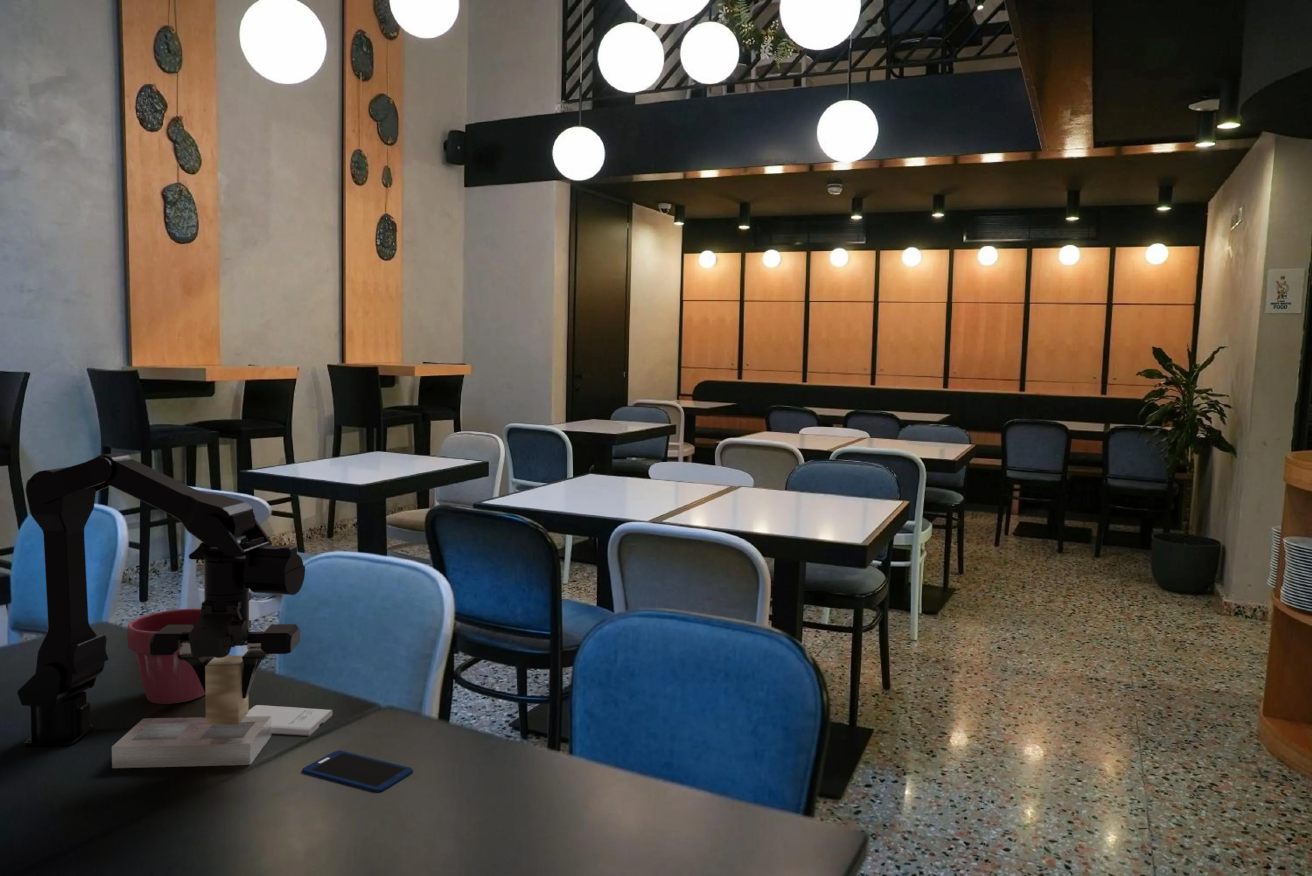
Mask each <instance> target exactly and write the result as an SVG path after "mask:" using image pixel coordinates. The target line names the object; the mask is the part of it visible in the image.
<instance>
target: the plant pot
mask: <svg viewBox="0 0 1312 876" xmlns="http://www.w3.org/2000/svg"><path fill="white" fill-rule="evenodd" d="M200 614H201V608H181V609H180V608H179V609H169V610H164V611H158V612H153V613H149V614H145V615H143V616H139V617H137V618H134V619H133V620H131V621H129V623H128V624H127V630H126V631H127V638H126V640H127V648H128V649H129V650H130V651H132V652H134V656H135V659H136V663H137V664H136V665H137V668H138V672H139V676H140V678H141V682H142V685H143V689H144V692H145V697H146V699H147V700H148V701H149V702H151V703H154V704H163V705H164V704H167V705H168V704H171V705H172V704H179V703H185V702H189V701H193V700H195V699H199V698H201V697H203V696H206V694H205V692H204V690H203V687H202V685H201V683H200V680H199V678H198V676H197V674H196V672H195V670H194V669H193V667H192V666H191V665H190V664H189V663H188V662H186V661H185V660H179V659H178V657H177V656H178V655H180V648H179V649H178V650H177V651H176V652H175V653H174V654H173V655H152V654H150V641H151V638H152V636H153V635H154V634H155V633H157V632H158V631H160V630H161V629H163V628H164V627H165V626H167V625H193V627H194V625H195V624H196V622H197V621H198V620H199V617H200ZM213 658H215V657H213Z"/></svg>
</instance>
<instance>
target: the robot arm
mask: <svg viewBox="0 0 1312 876" xmlns="http://www.w3.org/2000/svg"><path fill="white" fill-rule="evenodd" d="M109 487H113V488H115V489H116V490H119V491H121V492H123V493H125V494H127V495H129V496H131V497H133V498H135V499H137V500H138V501H141V502H143V503H145V504H147V505H149V506H151V507H154V508H155V509H158V510H160V511H162V512H164V513H166V514H168V515H170V516H172V517H174V518H175V519H177V520H178V521H179V522H181V523H182V526H183V527H184V528H185V530H186V531H187V533H189V534H191V535H192V536H193V537H195V538H196V539H198V540H199V541H200V543H199V545H198V547H196V549H194V550H193V551H191V553H189V555H188V558H189V559H190V560H196V561H197V560H199V561H203V567H204V569H203V571H204V573H203V575H204V578H203V579H204V581H203V585H204V586H203V587H204V589H203V590H204V598H203V599H204V601H202V602H201V606H200V609H201V614H200V617H199V620H198V621H197V622H196V624H195V625H194V627H193V625H167V626H165V627H164V628H163V629H161V630H160V631H158V632H157V633H155V634H154V635H153V636H152V638H151V641H150V654H152V655H173V654H174V653H175V652H176V651H177V650H178V649H179V648H180V655H178V656H177V657H178V659H179V660H185V661H186V662H188V663H189V664H190V665H191V666H192V667H193V669H194V670H195V672H196V674H197V676H198V678H199V680H200V683H201V685H202V687H203V690H204V692H205V666H206V665H207V664H208V663H209V662H210V661H211V660H212V659H213V657H216V658H223V657H225V656H229V654H230V653H231V650H232V648H235V647H238V646H239V647H243V646H247V649H248V650H247V651H246V652H245V653H244V655H241V656H242V659H243V663H244V670H243V681H242V698H246V697H247V696H248V697H249V693H250V690H251V687H252V685H253V682H254V679H255V676H256V674H257V672H258V669H259V666H260V665H261V663H262V660H264V659H266V658H267V657H268V656H269V655H287V654H290V653H292V652H293V651H294V650H295V648H296V647H297V646H298V645H299V644H300V643H301V629H300V628H299V626H297V624H295V623H291V624H290V623H281V624H278V623H277V624H276V623H273V624H272V623H271V624H270V625H269V626H268V627H267V628H266V629H265V630H264V631H250V629H251V628H252V619H251V620H250V601H251V600H252V593H255V594H266V595H267V594H269V595H286V596H295V595H297V594H298V593H299V592H300V591H301V590H302V587H303V584H304V581H305V578H306V577H305V576H306V566H305V565H304V562H303V559H302V557H301V555H299V554H298V546H297V545H288V544H287V545H284V546H282V545H281V546H280V545H278V546H277V545H272V544H273V543H272V541H271V539H270V538H269V537H268V535H267V534H266V531H264V529H263V528H262V526H261V525H260V524H259V522H258V521H257V519H256V515H255V513H254V509H253V507H252V506H251V505H250V504H249V503H248V502H245V501H243V500H240V499H238V498H234V497H233V498H232V497H229V496H226V495H223V494H222V495H221V494H215V493H207V492H204V491H200V490H197V489H195V488H193V487H191V486H189V485H187V484H185V483H183V482H181V481H178V480H176V479H175V478H173V477H170V476H168V475H166V474H165V473H162V472H161V471H158V470H156V469H154V468H152V467H150V466H148V465H145V464H144V463H141V462H139V461H137V460H136V459H133V457H132V456H131V455H129V454H126V453H124V452H115V453H109V454H107V453H106V454H100V455H98V456H95V457H94V458H91V459H89V460H87V461H84V462H81V463H78V464H75V465H72V466H67V467H60V468H58V467H57V468H52V469H51V468H50V469H46V470H45V469H44V470H39V471H37V472H35V473H34V474H32V476H31V477H30V478H29V479H27V481H26V485H25V496H26V499H27V500H26V501H27V504H28V510H29V513H30V516H31V517H32V519H33V520H34V521H35V522H36V524H37V525H38V526H39V528H40V529H41V530H42V534H43V551H44V552H43V553H44V569H45V570H44V571H45V588H46V592H45V594H46V611H47V632H46V634H45V637H44V638H43V640H42V642H41V644H40V646H39V649H38V651H37V652H36V653H37V656H36V664H35V672H34V674H33V675H32V676H31V677H30V679H28V680H27V681H26V682H25V683H24V684H23V685H22V686H21V687H20V688H19V689H18V690H17V695H18V698H19V701H20V704H21V705H22V706H24V707H25V706H26V707H28V706H29V709H30V710H29V711H30V712H29V713H30V738H27V740H25V741H24V746H26V747H28V746H32V747H33V746H68V745H73V744H75V743H76V742H77V741H79V740H80V739H81V738H82V737H83V736H85V735H86V734H87V733H88V732H90V731H91V730H92V729H93V728H94V726H93V724H92V723H91V722H92V721H91V703H90V702H89V701H87V691H86V690H89V689H91V688H94V685H95V683H96V681H97V678H98V676H99V675H100V674H101V673H102V672H103V670H104V668H105V662H107V661H109V656H108V654H107V650H106V649H107V647H106V645H107V640H108V639H107V636H106V634H104V633H103V634H101V633H100V634H97V633H96V632H95V631H94V629H93V628H92V627H91V625H90V622H89V609H88V608H89V607H88V605H89V604H88V586H87V566H86V564H87V563H86V561H87V560H86V546H85V545H86V544H85V543H86V542H85V526H86V525H87V522H88V520H89V519H90V516H91V514H92V512H93V510H94V508H95V502H96V494H97V492H99V491H101V490H104V489H107V488H109ZM243 539H246V540H245V541H244V540H243ZM241 540H243V541H241ZM238 541H240V542H238Z"/></svg>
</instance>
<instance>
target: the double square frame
mask: <svg viewBox="0 0 1312 876" xmlns="http://www.w3.org/2000/svg"><path fill="white" fill-rule="evenodd" d="M271 737H272V733H271V716H249V717H244V719H243V720H242V721H241V722H240V723H239V724H234V725H206V716H205V717H156V718H155V717H153V718H151V717H150V718H148V717H147V718H145V717H144V718H142V719H141V720H140V721H139V722H138V723H137V724H135V725H134V726H133V727H132V728H131V729H130V730H129V731H128V732H127V733H125V734H124V735H123V736H122V737H121V738H120V739H119V740H118V741H116V743H115V744H113V745H112V746H111V768H112V769H132V768H134V769H135V768H137V769H138V768H139V769H140V768H167V767H168V768H170V767H171V768H172V767H173V768H174V767H176V768H177V767H178V768H179V767H210V766H211V767H212V766H215V767H216V766H217V767H219V766H246V765H247V766H251V765H252V763H253V762H254V760H255V759H256V758H257V756H258V755H259V753H260V752H261V751H262V749H263V748H264V747H265V745H266V744H267V742H268V741H269V739H270V738H271Z"/></svg>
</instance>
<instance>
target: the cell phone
mask: <svg viewBox="0 0 1312 876" xmlns="http://www.w3.org/2000/svg"><path fill="white" fill-rule="evenodd" d="M301 773H303V774H305V775H309V776H312V777H317V778H320V779H324V780H328V781H331V782H334V783H338V784H343V785H346V786H350V787H354V788H358V789H361V790H366V791H368V792H373V793H383V792H385V791H386V790H388V789H390V788H392V787H393V786H394V785H396V784H398V783H399V782H401V781H403V780H405V779H406V778H407V777H409V776H411V775H412V774H414V769H412V767H409V766H404V765H401V764H397V763H392V762H389V761H385V760H380V759H377V758H372V757H368V756H365V755H360V754H356V753H354V752H353V753H352V752H348V751H345V750H335V751H333V752H331V753H329V754H327V755H325V756H323V757H321V758H320V759H317V760H316V761H314V762H312V763H310V764H308V765H306V766H305V767H303V768H302V769H301Z"/></svg>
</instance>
